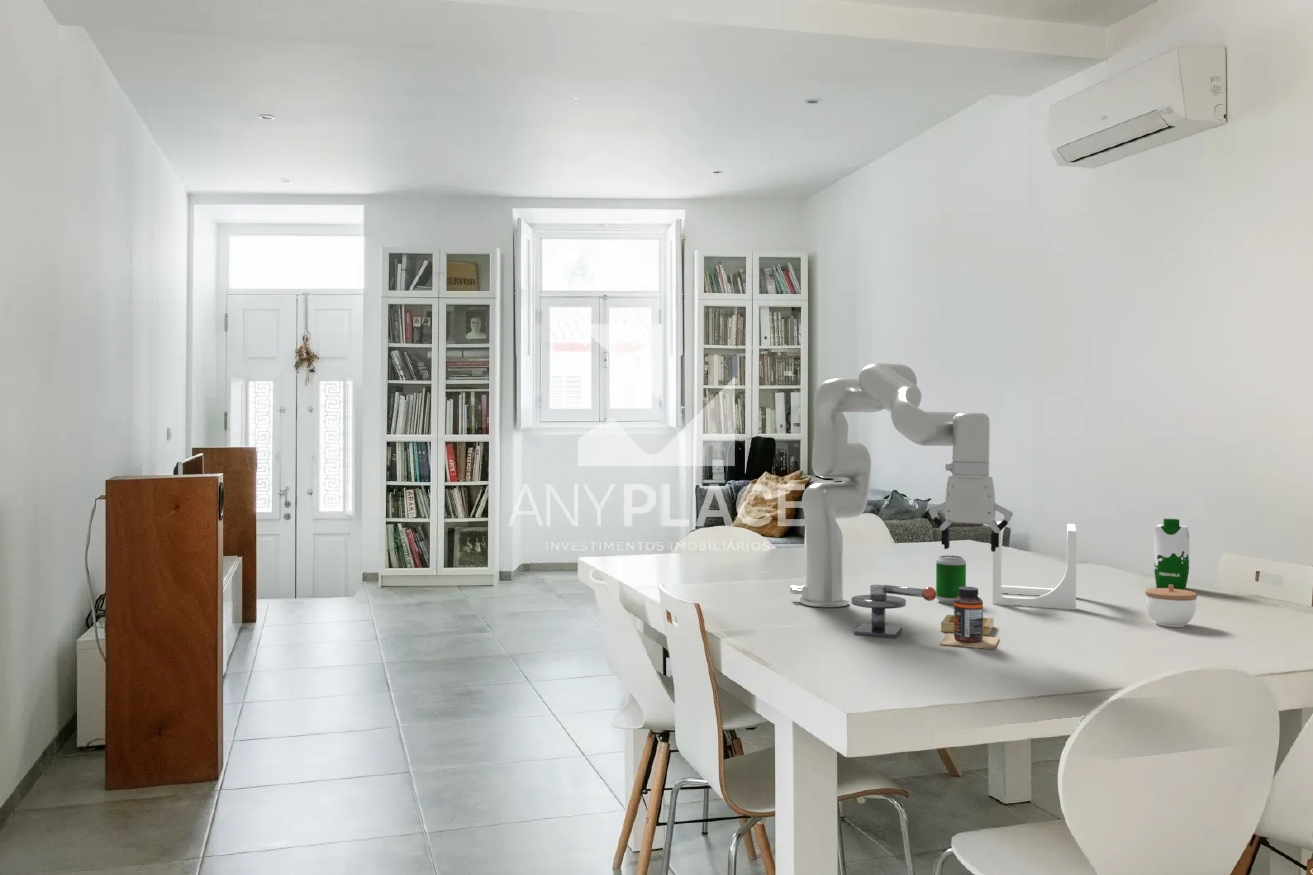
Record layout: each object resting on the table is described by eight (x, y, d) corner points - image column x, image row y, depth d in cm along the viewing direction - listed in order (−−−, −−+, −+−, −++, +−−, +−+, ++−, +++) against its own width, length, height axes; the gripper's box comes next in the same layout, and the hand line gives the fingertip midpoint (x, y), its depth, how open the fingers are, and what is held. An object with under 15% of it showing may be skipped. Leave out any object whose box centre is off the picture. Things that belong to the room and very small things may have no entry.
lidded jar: (1192, 621, 234) (1192, 582, 234) (1200, 630, 224) (1201, 589, 224) (1142, 618, 238) (1142, 580, 238) (1148, 627, 228) (1149, 587, 228)
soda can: (967, 605, 255) (967, 559, 255) (937, 604, 257) (937, 558, 257) (964, 600, 263) (964, 555, 263) (935, 599, 264) (935, 554, 264)
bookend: (992, 604, 257) (993, 528, 257) (996, 592, 276) (997, 521, 276) (1075, 609, 250) (1076, 531, 250) (1074, 597, 268) (1074, 523, 268)
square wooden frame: (941, 631, 223) (941, 622, 223) (947, 623, 232) (947, 614, 232) (989, 635, 219) (989, 626, 219) (993, 626, 228) (993, 618, 228)
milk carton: (1152, 589, 281) (1153, 519, 281) (1156, 584, 289) (1156, 516, 288) (1187, 591, 276) (1188, 520, 276) (1190, 587, 284) (1190, 518, 284)
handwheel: (841, 604, 221) (841, 582, 221) (866, 597, 230) (866, 575, 230) (924, 614, 209) (924, 591, 209) (946, 606, 218) (946, 584, 218)
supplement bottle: (949, 637, 215) (949, 585, 215) (975, 636, 215) (976, 585, 215) (960, 643, 209) (960, 590, 209) (987, 642, 210) (987, 589, 209)
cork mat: (939, 645, 209) (939, 643, 209) (946, 635, 219) (946, 633, 219) (994, 649, 205) (994, 648, 205) (998, 639, 215) (998, 637, 215)
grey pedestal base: (854, 634, 220) (854, 607, 219) (862, 626, 228) (862, 601, 228) (894, 638, 216) (895, 610, 216) (902, 630, 224) (902, 604, 224)
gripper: (926, 470, 212) (926, 549, 212) (1012, 472, 205) (1011, 554, 205) (931, 468, 218) (931, 545, 219) (1014, 470, 211) (1013, 549, 212)
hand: (969, 549), depth 212 cm, fingers open, 9 cm apart
